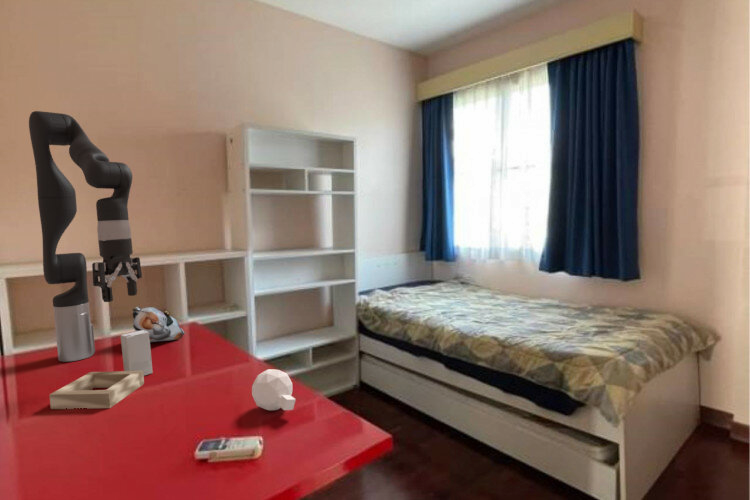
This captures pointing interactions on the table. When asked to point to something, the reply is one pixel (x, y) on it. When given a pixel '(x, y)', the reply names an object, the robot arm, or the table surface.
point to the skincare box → (136, 352)
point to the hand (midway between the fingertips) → (120, 298)
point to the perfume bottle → (273, 390)
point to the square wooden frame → (85, 397)
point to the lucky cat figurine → (156, 324)
